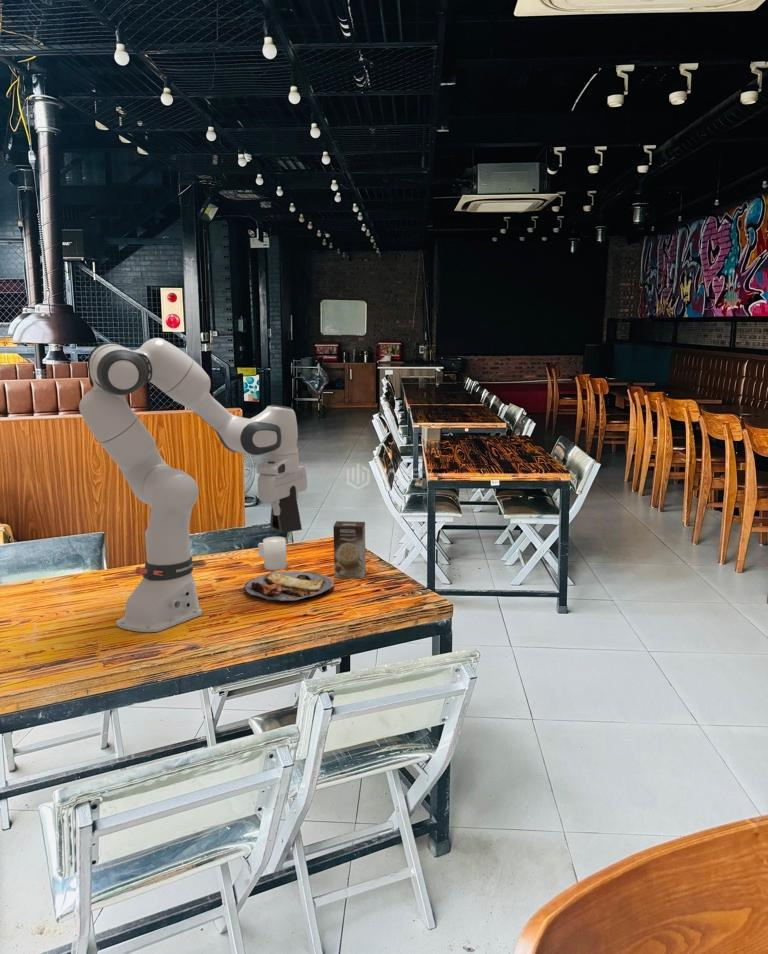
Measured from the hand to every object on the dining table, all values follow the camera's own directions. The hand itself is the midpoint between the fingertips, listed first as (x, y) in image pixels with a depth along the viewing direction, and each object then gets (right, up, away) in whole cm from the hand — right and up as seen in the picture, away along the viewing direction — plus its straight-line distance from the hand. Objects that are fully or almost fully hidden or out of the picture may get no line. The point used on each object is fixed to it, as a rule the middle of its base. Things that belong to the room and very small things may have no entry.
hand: (284, 512), depth 213 cm
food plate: (+1, -23, +4) cm, 23 cm away
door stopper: (0, -5, +1) cm, 5 cm away
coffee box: (+18, -20, +17) cm, 32 cm away
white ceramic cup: (-7, -18, +27) cm, 34 cm away
